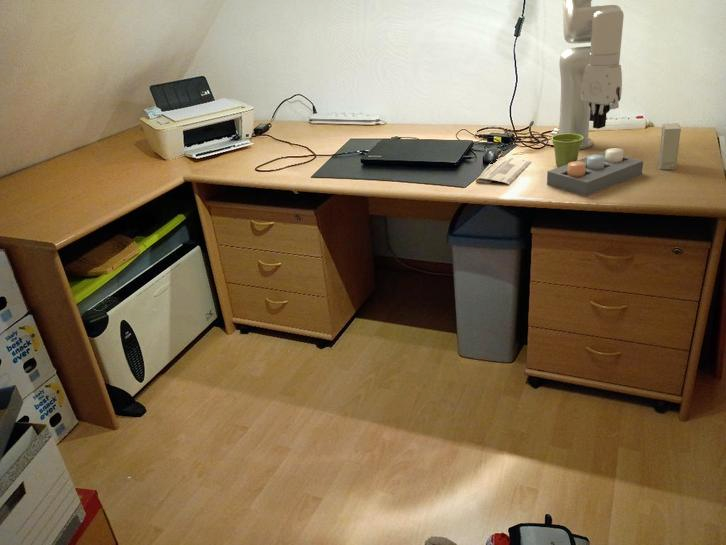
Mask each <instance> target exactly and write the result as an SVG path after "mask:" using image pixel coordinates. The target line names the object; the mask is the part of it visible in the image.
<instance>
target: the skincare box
mask: <svg viewBox="0 0 726 545" xmlns="http://www.w3.org/2000/svg"><path fill="white" fill-rule="evenodd" d="M661 125H662V127H661V136H660V145H659V153H658V154H659V155H658V167H659V169H660V170H676V169H677V164H678V156H679V146H680V138H681V132H682V126H680V123H679V122H678V123H662V124H661Z"/></svg>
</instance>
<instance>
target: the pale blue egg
mask: <svg viewBox="0 0 726 545" xmlns="http://www.w3.org/2000/svg"><path fill="white" fill-rule="evenodd" d="M604 164H605V156H603V155H595V154H590V155H588V156H587V167H586V168H587V169H591V170H595V171H598V170H601V169H604Z"/></svg>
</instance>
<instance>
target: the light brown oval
mask: <svg viewBox="0 0 726 545" xmlns="http://www.w3.org/2000/svg"><path fill="white" fill-rule="evenodd" d="M585 170H586V163H584V162H579V161H578V160H577V161H575V162H570V163H568V171H567V175H568V176H571V177H575V178H580V177H582V176H585Z"/></svg>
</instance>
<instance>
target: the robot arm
mask: <svg viewBox="0 0 726 545" xmlns="http://www.w3.org/2000/svg"><path fill="white" fill-rule="evenodd" d="M592 2H593V0H562V11H563V12H562V13H563V14H562V16H563V17H562V20H563V22H562V23H563V26H562V27H563V37H564V40H565V42H567V43H568V44H571V45H573V44H574V45H575V44H589V43H590V45H587V46H577V47H571V48H568V49H566V50H564V51H563V52H562V53H561V55H560V58H559V63H558V64H559V65H558V66H559V72H560V73H559V75H560V107H559V124H558V125H559V127H558V128H556V127H555V128H554V129H553V131H551V134H550V135H551V136H555V135H558V134H568V133H571V134H579V135H582V136H583V140H582V142H581V144H580V148H579V150H583V149H588V148H590V147H592V145H593V143H594V142H593V139H592V138H589V130H590V118H591V113H592V114H593V118H592V119H593V120H592V128H593V129H596V130H599V129H603V128H605V127H606V122H607V114H608V113H609V112H610V111H611V110H616V109H619V106H620V105H619V102H620V101H621V99H622V98H621V97H622V90H623V88H622V87H623V76H622V75H623V73H622V72H623V71H622V65H621V64H620V59H621V48H622V40H623V39H622V37H623V30H624V29H623V28H624V18H625V16H624V11H623V10H622V8H621V7H620V6H619V5H617V4H605V5H596V6H594V5H593V6H592Z"/></svg>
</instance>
